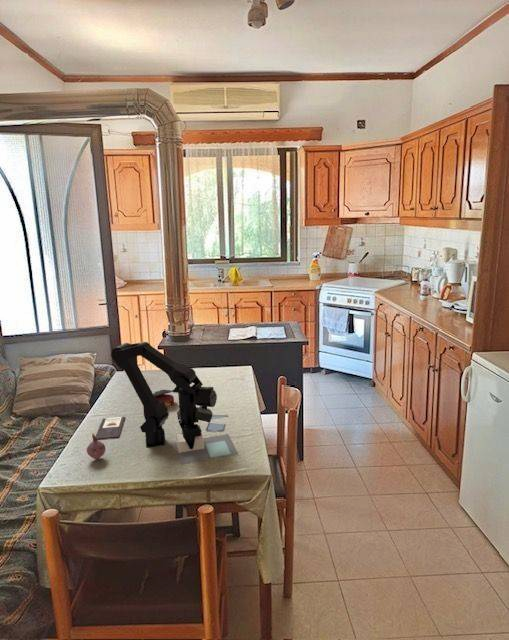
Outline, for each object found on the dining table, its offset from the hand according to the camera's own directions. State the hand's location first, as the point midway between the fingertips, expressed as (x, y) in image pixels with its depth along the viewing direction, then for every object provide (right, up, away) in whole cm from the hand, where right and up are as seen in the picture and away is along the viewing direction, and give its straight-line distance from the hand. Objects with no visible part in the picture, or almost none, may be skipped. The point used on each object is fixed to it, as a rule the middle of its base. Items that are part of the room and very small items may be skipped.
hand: (190, 444), depth 167 cm
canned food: (-18, +7, +40) cm, 44 cm away
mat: (+6, -1, -1) cm, 6 cm away
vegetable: (-31, -4, -5) cm, 32 cm away
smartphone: (+8, +3, +19) cm, 21 cm away
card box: (0, -1, 0) cm, 1 cm away
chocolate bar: (-34, +1, +19) cm, 39 cm away
